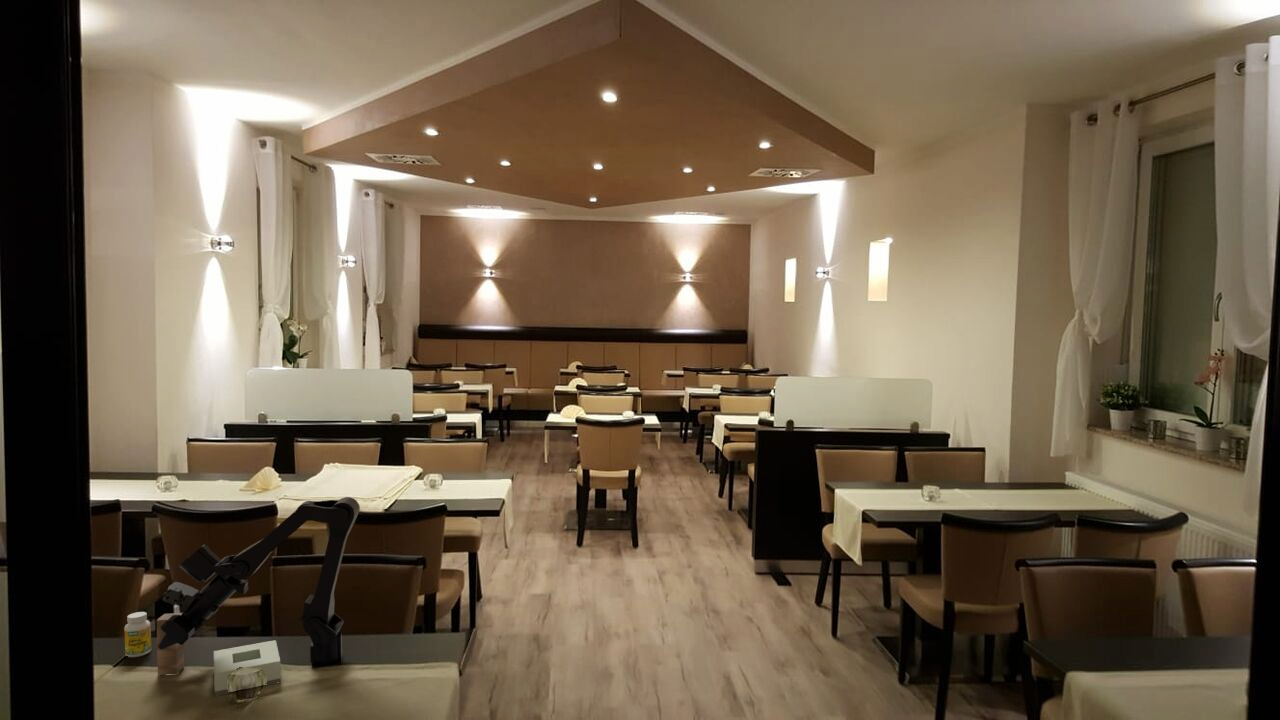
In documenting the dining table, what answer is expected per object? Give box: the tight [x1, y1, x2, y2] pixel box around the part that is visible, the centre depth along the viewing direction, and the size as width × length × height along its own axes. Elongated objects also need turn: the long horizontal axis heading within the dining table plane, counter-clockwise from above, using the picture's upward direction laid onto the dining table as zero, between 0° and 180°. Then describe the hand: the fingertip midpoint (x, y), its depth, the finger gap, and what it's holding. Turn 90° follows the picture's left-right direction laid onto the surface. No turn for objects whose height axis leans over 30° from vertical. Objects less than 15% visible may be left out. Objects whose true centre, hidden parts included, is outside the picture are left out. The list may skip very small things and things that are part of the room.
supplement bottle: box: [123, 611, 152, 658], centre depth 187 cm, size 5×5×10 cm
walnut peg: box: [156, 612, 185, 676], centre depth 177 cm, size 4×4×13 cm
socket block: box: [213, 639, 282, 697], centre depth 175 cm, size 13×13×5 cm
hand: (164, 644), depth 177 cm, fingers closed on walnut peg, 4 cm apart
